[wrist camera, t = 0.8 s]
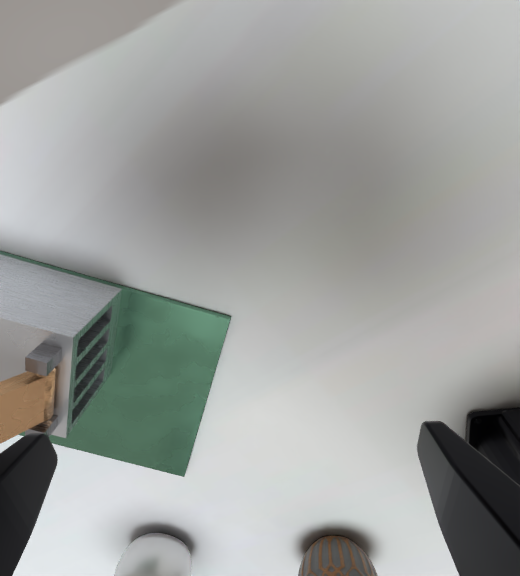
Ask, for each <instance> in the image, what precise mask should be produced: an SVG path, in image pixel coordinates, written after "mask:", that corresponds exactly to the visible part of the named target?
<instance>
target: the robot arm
mask: <svg viewBox="0 0 520 576" xmlns="http://www.w3.org/2000/svg"><path fill="white" fill-rule="evenodd" d="M417 451H418V456H419V460H420V463H421V467H422V470H423V473H424V477H425V480H426V483H427V487H428V490H429V493H430V497H431V500H432V503H433V507H434V510H435V513H436V517H437V520H438V523H439V526H440V528H441V531H442V534H443V536H444V539H445V541H446V544H447V546H448V549H449V551H450V553H451V556H452V558H453V561H454V563H455V566H456V568H457V571H458V573H459V575H460V576H520V408H511V409H500V410H489V411H478V412H472V413H470V414H469V415H468V418H467V433H466V441H465V440H464V439H463V438H461V437H460V436H459V435H458V434H457V433H455V432H454V431H453V430H452V429H450V428H449V427H448V426H447V425H446V424H444V423H443V422H441V421H425V422H423V423H422V425H421V429H420V434H419V439H418V444H417ZM56 466H57V454H56V452H55V450H54V447H53V445H52V443H51V441H50V439H49V437H48V435H46V434H45V433H33V434H27V435H25V436H24V437H22V438H21V439H20V440H18V441H17V442H16V443H14V444H13V445H11V446H10V447H9V448H7V449H6V450H4V451H3V452H2V453H0V576H12V575H13V573H14V571H15V568H16V566H17V564H18V562H19V560H20V558H21V556H22V553H23V551H24V549H25V547H26V545H27V543H28V540H29V538H30V536H31V534H32V531H33V529H34V526H35V523H36V521H37V518H38V515H39V513H40V510H41V507H42V504H43V502H44V499H45V496H46V493H47V491H48V488H49V485H50V483H51V480H52V477H53V474H54V472H55V469H56Z"/></svg>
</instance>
